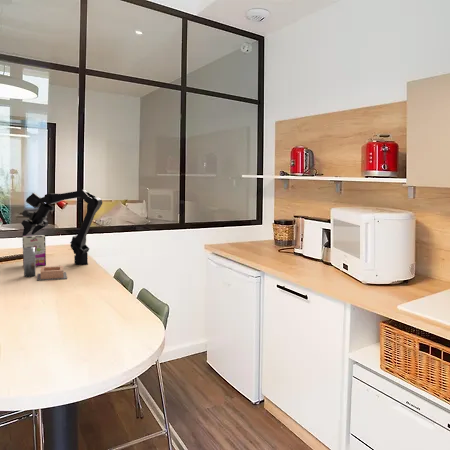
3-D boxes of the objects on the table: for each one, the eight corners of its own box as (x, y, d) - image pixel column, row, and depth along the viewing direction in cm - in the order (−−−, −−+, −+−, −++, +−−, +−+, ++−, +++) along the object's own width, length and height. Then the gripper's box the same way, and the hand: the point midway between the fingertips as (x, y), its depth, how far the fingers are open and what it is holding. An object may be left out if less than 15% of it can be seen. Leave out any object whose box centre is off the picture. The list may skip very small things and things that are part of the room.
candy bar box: (45, 263, 220) (45, 234, 218) (46, 265, 216) (45, 236, 214) (22, 265, 215) (22, 235, 213) (23, 267, 211) (22, 236, 209)
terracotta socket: (66, 272, 202) (66, 265, 201) (66, 279, 190) (66, 271, 189) (38, 274, 197) (37, 266, 196) (36, 280, 185) (36, 272, 184)
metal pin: (35, 274, 196) (35, 246, 195) (35, 276, 192) (34, 248, 190) (24, 275, 194) (24, 246, 193) (23, 277, 190) (23, 248, 188)
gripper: (38, 203, 231) (25, 225, 233) (20, 205, 213) (5, 229, 214) (54, 214, 231) (40, 236, 233) (37, 217, 213) (22, 240, 215)
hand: (27, 235), depth 224 cm, fingers open, 9 cm apart
